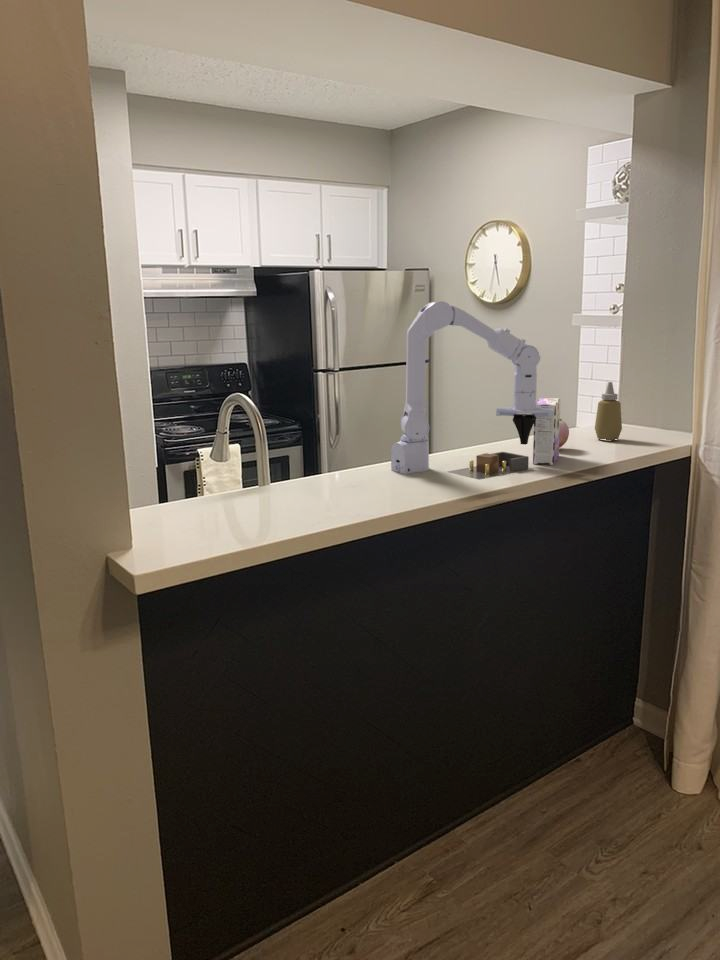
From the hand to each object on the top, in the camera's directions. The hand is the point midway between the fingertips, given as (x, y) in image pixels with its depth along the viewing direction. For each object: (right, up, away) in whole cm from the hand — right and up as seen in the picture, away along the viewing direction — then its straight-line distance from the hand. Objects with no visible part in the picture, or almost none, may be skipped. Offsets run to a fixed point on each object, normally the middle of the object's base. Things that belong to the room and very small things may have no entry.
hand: (524, 443), depth 203 cm
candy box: (+9, -4, +12) cm, 15 cm away
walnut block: (-11, -7, -6) cm, 14 cm away
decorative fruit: (+14, -1, +26) cm, 30 cm away
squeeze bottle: (+34, +3, +39) cm, 52 cm away
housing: (-5, -6, -2) cm, 8 cm away
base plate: (-10, -8, -5) cm, 13 cm away
